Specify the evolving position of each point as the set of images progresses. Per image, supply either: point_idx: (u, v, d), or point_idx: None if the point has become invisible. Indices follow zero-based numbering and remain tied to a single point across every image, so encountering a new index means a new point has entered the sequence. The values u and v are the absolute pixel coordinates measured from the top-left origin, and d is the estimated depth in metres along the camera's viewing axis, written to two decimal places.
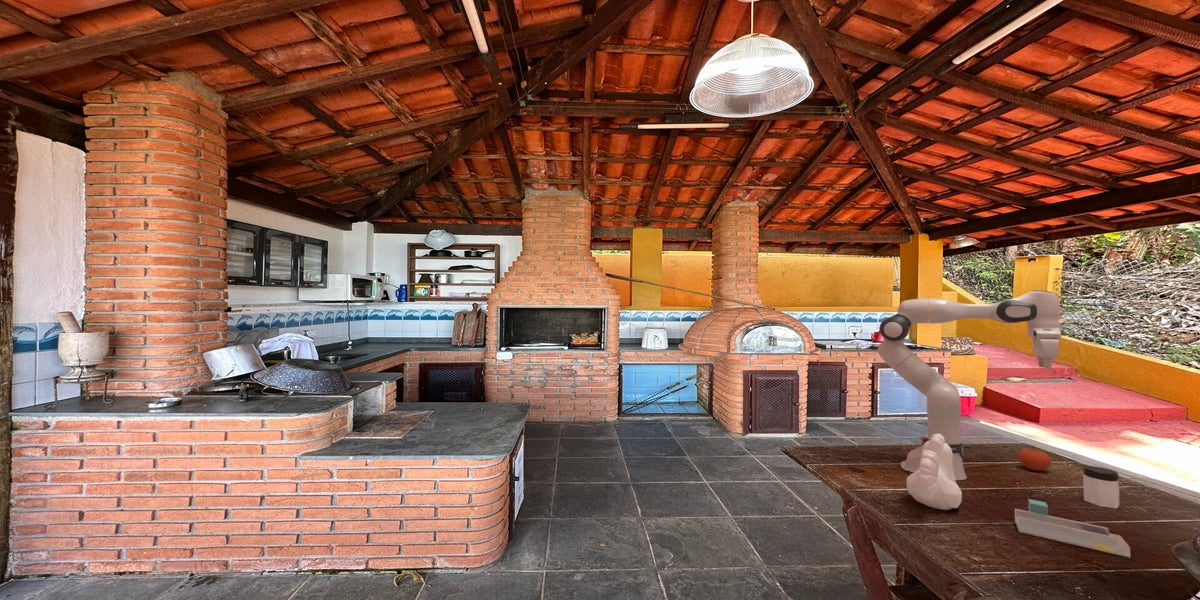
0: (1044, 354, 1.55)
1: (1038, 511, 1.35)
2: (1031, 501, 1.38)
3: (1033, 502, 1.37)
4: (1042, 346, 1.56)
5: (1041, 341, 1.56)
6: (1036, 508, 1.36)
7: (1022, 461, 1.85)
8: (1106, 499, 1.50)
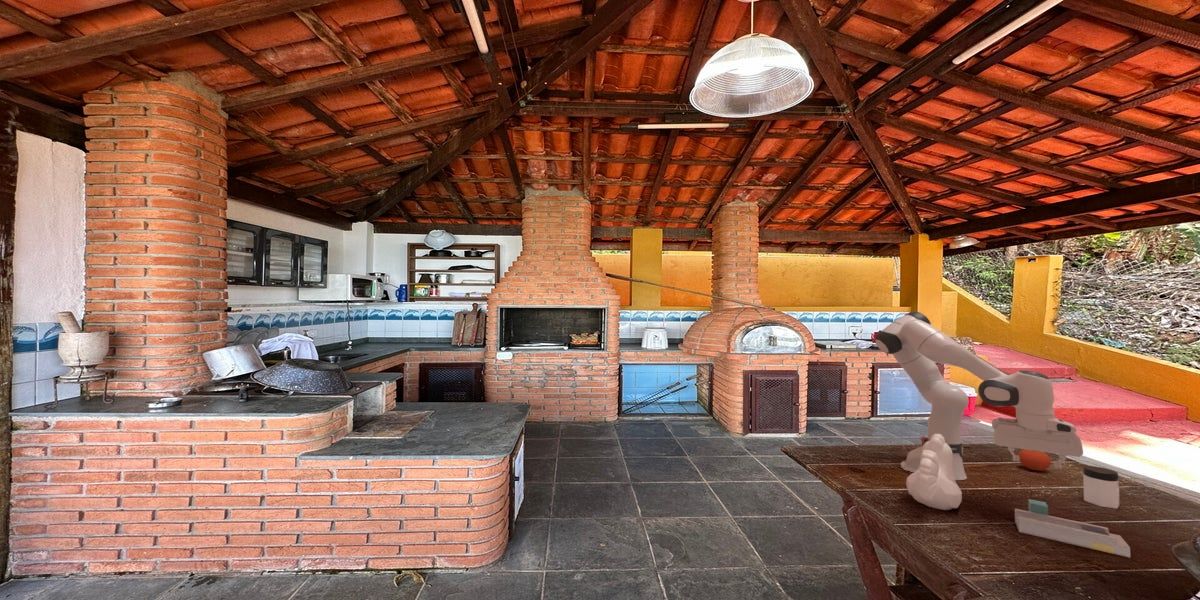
0: (1082, 453, 1.30)
1: (1038, 511, 1.35)
2: (1031, 501, 1.38)
3: (1033, 502, 1.37)
4: (1081, 443, 1.30)
5: (1078, 437, 1.30)
6: (1036, 508, 1.36)
7: (1022, 461, 1.85)
8: (1106, 499, 1.50)
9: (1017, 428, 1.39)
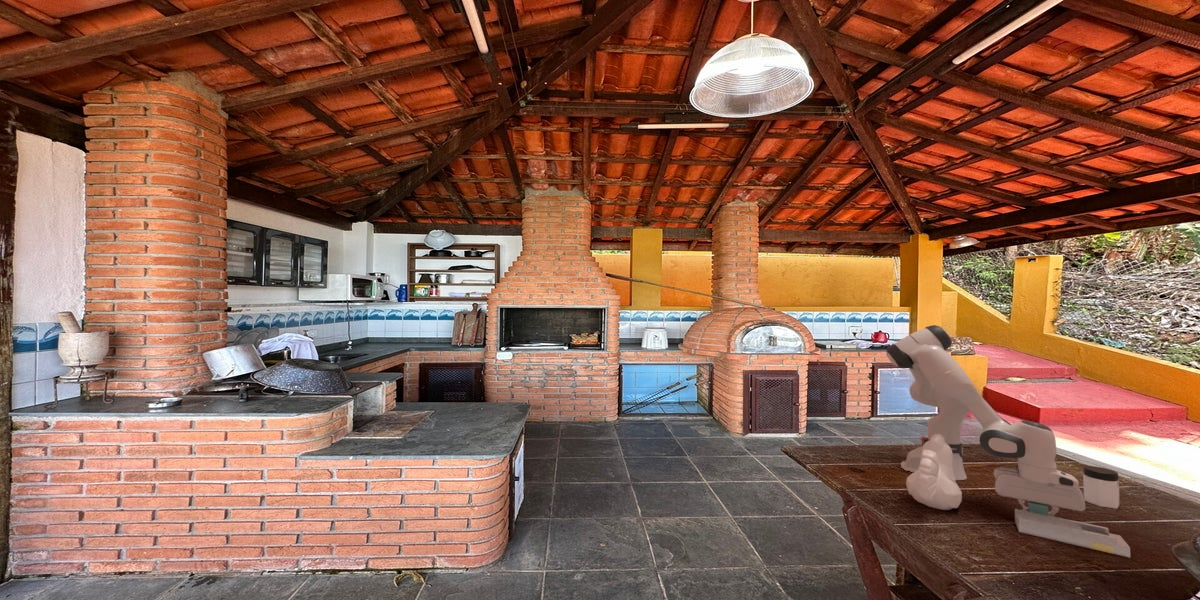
0: (1084, 507, 1.30)
1: (1038, 511, 1.35)
2: (1031, 501, 1.38)
3: (1033, 502, 1.37)
4: (1083, 498, 1.30)
5: (1081, 492, 1.30)
6: (1036, 508, 1.36)
7: None
8: (1106, 499, 1.50)
9: (1019, 479, 1.39)
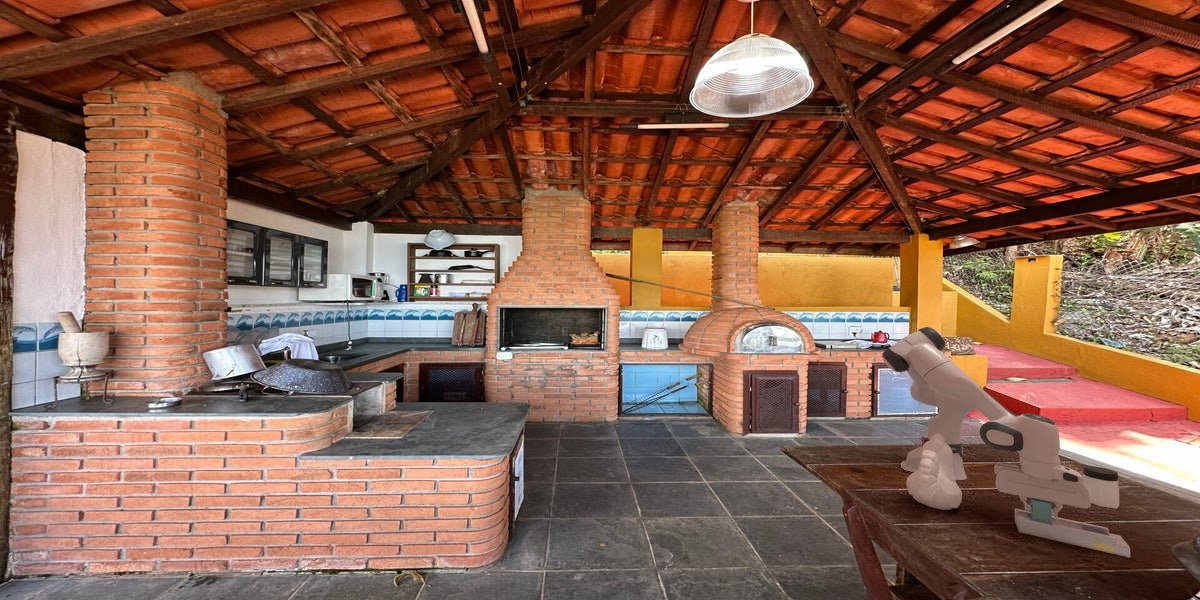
0: (1090, 504, 1.23)
1: (1041, 508, 1.29)
2: (1033, 498, 1.31)
3: (1035, 499, 1.31)
4: (1088, 494, 1.23)
5: (1086, 488, 1.23)
6: (1038, 505, 1.29)
7: None
8: (1106, 499, 1.50)
9: (1021, 475, 1.32)
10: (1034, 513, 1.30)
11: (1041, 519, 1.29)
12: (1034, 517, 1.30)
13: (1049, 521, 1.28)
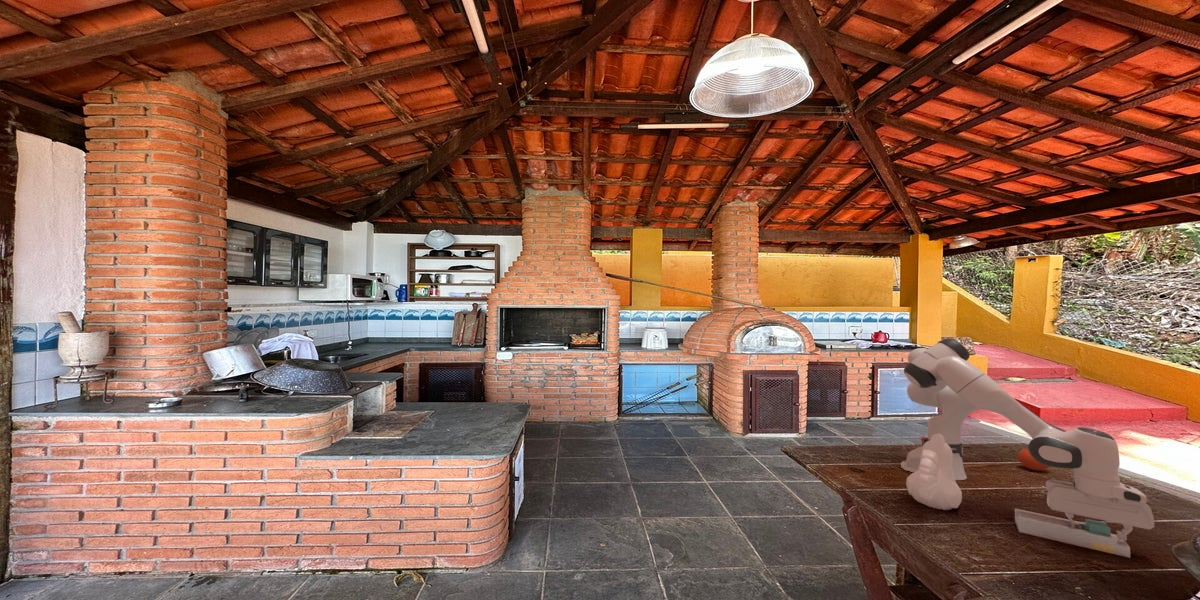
0: (1153, 525, 1.16)
1: (1099, 532, 1.22)
2: (1089, 521, 1.24)
3: (1092, 522, 1.23)
4: (1152, 515, 1.16)
5: (1149, 508, 1.16)
6: (1096, 529, 1.22)
7: (1022, 461, 1.85)
8: None
9: (1076, 492, 1.25)
10: None
11: None
12: None
13: None
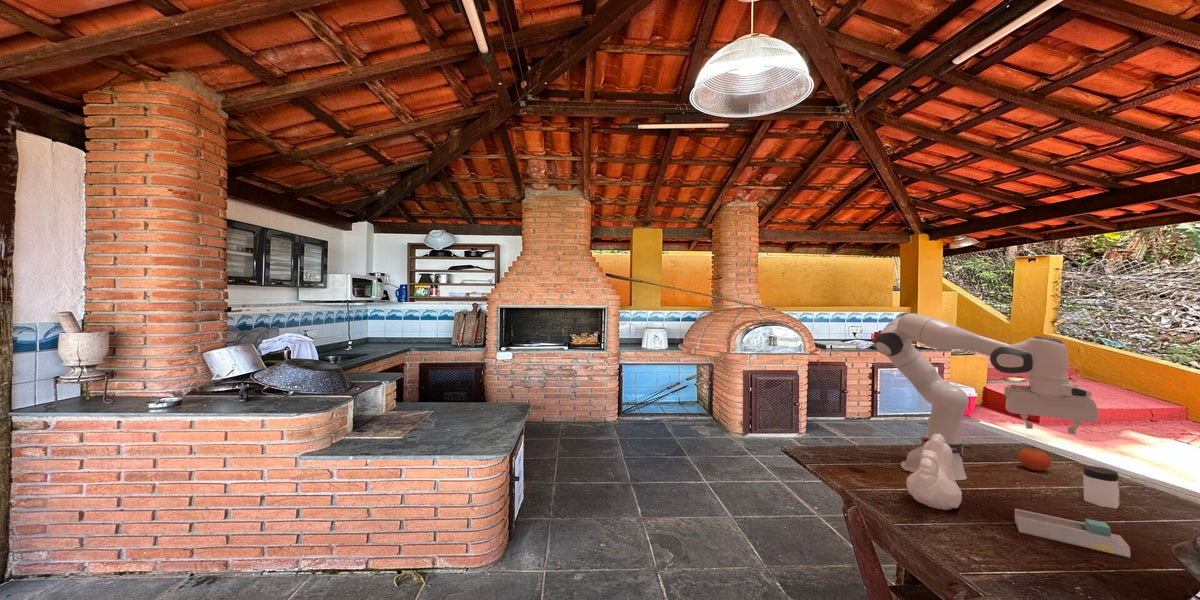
0: None
1: (1099, 532, 1.22)
2: (1089, 521, 1.24)
3: (1092, 522, 1.23)
4: (1096, 408, 1.28)
5: (1094, 402, 1.28)
6: (1096, 529, 1.22)
7: (1022, 461, 1.85)
8: (1106, 499, 1.50)
9: (1030, 394, 1.37)
10: None
11: None
12: None
13: None
